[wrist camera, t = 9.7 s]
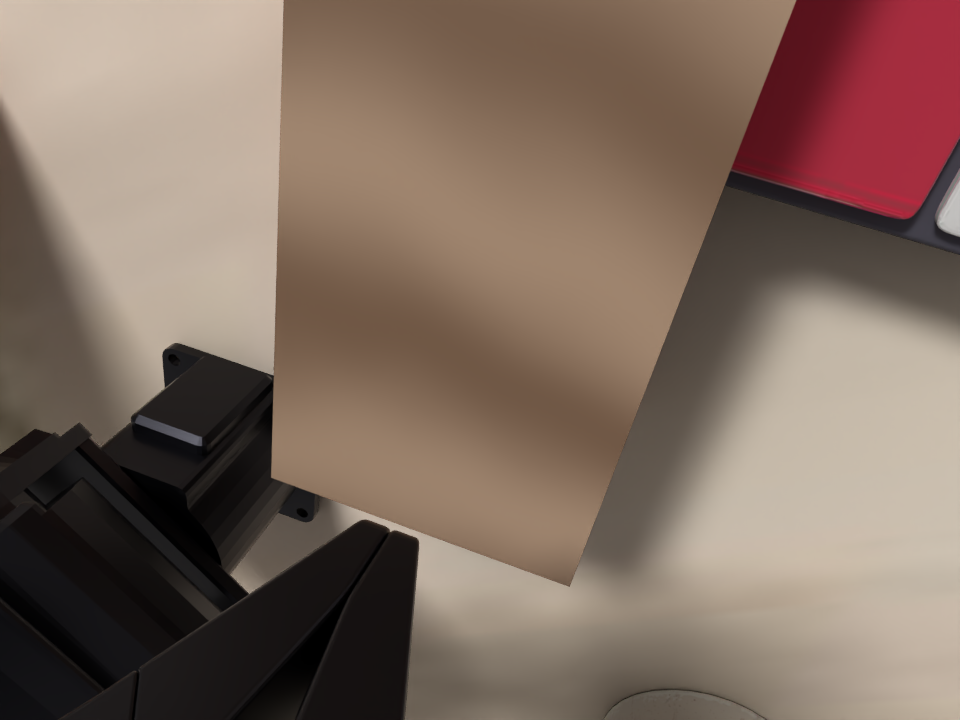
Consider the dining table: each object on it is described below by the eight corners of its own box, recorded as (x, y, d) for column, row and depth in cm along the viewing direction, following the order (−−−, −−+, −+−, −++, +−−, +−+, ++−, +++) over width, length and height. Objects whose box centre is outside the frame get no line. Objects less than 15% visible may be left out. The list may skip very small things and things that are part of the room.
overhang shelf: (611, 418, 24) (569, 586, 18) (382, 343, 25) (271, 477, 19) (1008, -676, 11) (1308, -1324, 5) (517, -724, 12) (318, -1301, 7)
